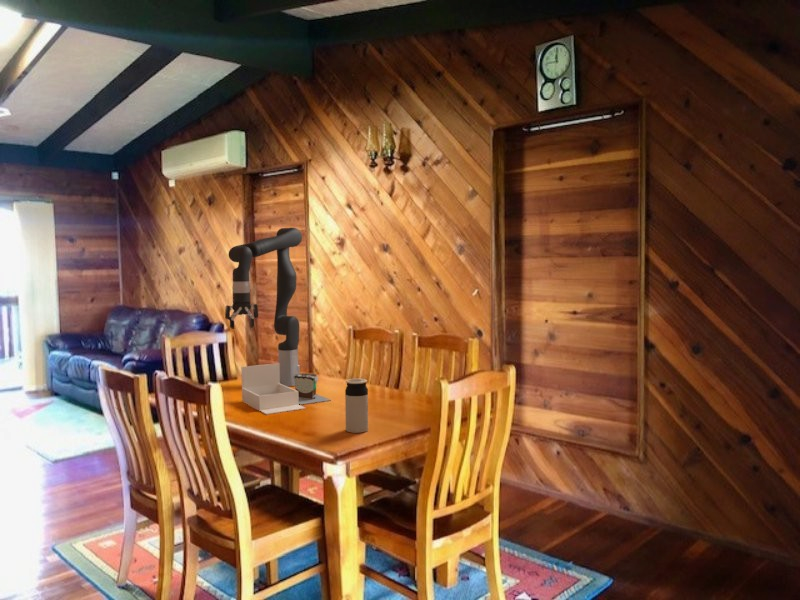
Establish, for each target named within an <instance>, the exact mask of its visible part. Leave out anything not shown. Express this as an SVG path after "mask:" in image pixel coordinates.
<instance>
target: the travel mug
mask: <svg viewBox="0 0 800 600" xmlns="http://www.w3.org/2000/svg"><path fill="white" fill-rule="evenodd" d="M367 382H368V380H367V379H365V378H349V379H346V380H345V383H346V385H347V386H346V388H345V390H344V391H345V392H344V393H345V394H344V395H345V398H344V399H345V431H346V432H349V433H350V432H351V433H352V434H362V432H363V433H366V432H367V431H369V389H368V387H367Z"/></svg>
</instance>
